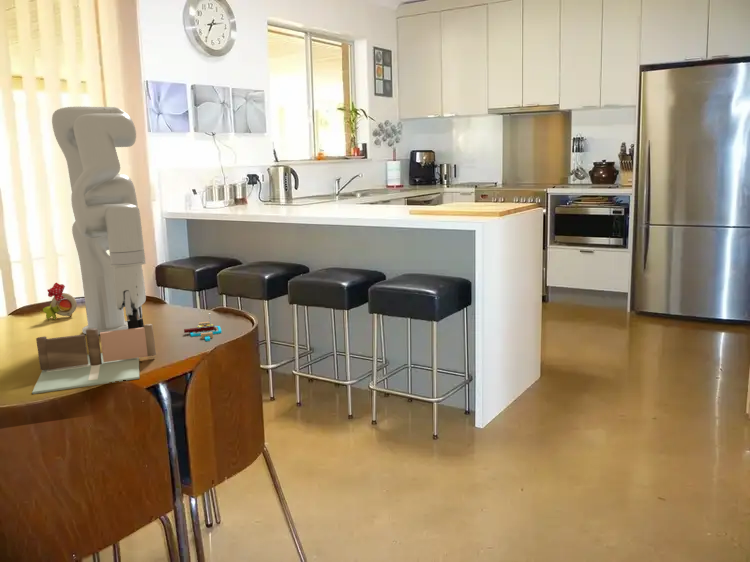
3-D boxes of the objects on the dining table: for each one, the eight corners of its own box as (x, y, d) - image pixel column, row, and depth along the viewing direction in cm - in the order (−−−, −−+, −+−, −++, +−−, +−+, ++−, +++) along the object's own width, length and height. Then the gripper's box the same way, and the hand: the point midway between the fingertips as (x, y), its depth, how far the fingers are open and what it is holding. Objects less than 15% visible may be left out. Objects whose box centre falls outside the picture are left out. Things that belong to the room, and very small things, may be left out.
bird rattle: (72, 321, 209) (41, 312, 206) (83, 288, 209) (53, 279, 206) (69, 325, 203) (38, 317, 200) (80, 291, 203) (49, 282, 200)
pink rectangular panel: (103, 360, 150) (100, 329, 149) (155, 353, 154) (152, 323, 153) (103, 362, 148) (99, 331, 147) (156, 355, 152) (152, 325, 151)
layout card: (47, 361, 155) (47, 359, 155) (138, 349, 161) (138, 347, 161) (32, 394, 131) (32, 391, 131) (139, 378, 138) (139, 376, 138)
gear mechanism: (185, 345, 165) (224, 341, 168) (183, 324, 164) (222, 320, 167) (183, 328, 184) (218, 324, 187) (181, 309, 183) (216, 305, 186)
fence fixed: (41, 370, 146) (36, 335, 145) (102, 362, 150) (97, 327, 149) (40, 373, 144) (35, 337, 143) (101, 364, 148) (97, 329, 147)
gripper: (118, 256, 160) (127, 330, 163) (102, 263, 146) (112, 345, 149) (151, 254, 161) (159, 328, 164) (137, 261, 147) (147, 342, 149)
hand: (137, 336), depth 156 cm, fingers closed
